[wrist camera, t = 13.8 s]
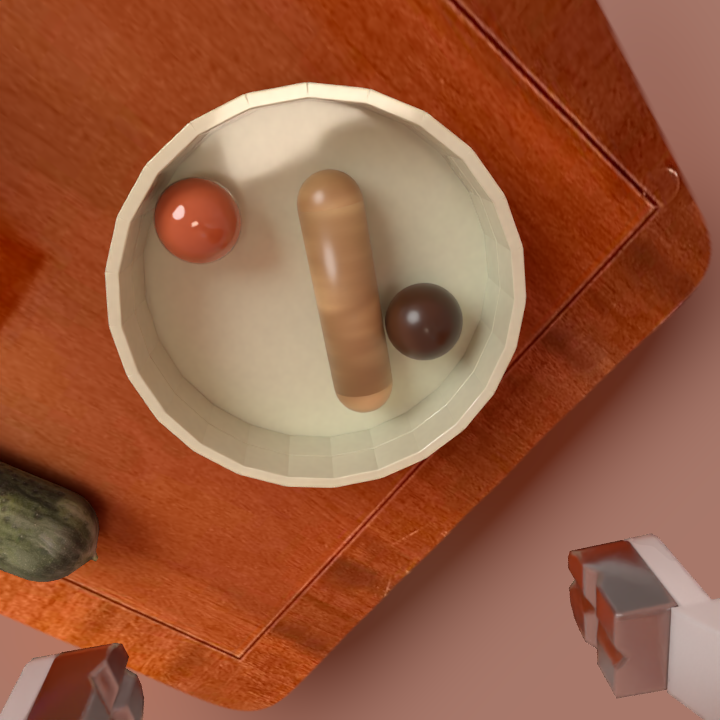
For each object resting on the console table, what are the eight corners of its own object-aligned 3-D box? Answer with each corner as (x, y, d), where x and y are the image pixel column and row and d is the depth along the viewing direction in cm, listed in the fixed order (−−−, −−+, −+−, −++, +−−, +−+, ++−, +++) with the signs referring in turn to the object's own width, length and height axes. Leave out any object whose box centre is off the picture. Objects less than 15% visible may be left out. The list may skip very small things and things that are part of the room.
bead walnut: (401, 322, 34) (459, 284, 32) (424, 381, 32) (487, 344, 30) (360, 299, 31) (422, 256, 29) (384, 364, 29) (451, 321, 27)
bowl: (339, -6, 27) (346, -31, 22) (558, 300, 33) (599, 329, 29) (55, 267, 30) (11, 294, 26) (305, 495, 37) (306, 548, 32)
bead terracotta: (234, 155, 27) (150, 163, 25) (268, 232, 27) (187, 248, 25) (207, 199, 30) (131, 210, 28) (237, 268, 30) (163, 286, 28)
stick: (280, 179, 27) (347, 169, 26) (303, 169, 29) (365, 160, 28) (332, 424, 32) (390, 423, 31) (348, 395, 34) (401, 394, 33)
